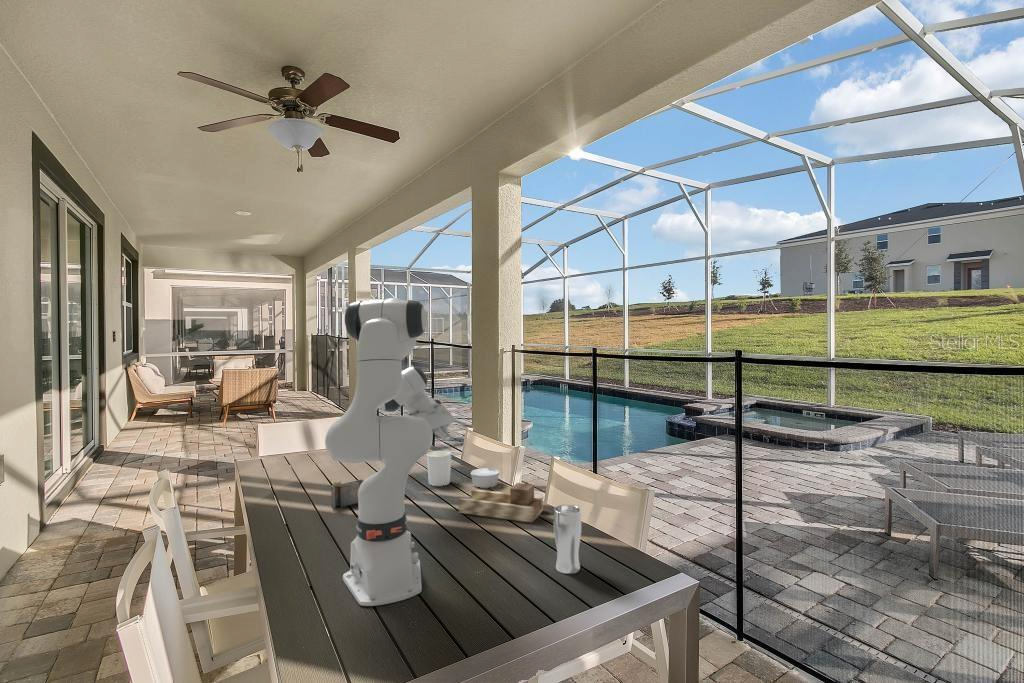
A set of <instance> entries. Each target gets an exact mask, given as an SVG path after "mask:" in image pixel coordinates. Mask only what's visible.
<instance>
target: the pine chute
mask: <svg viewBox="0 0 1024 683" xmlns="http://www.w3.org/2000/svg"><path fill="white" fill-rule="evenodd" d="M470 494H471V495H470V497H471V498H466V497H460V498H458V513H460V514H466V515H467V514H468V515H473V516H475V515H476V516H481V517H488V518H496V519H503V520H511V521H517V522H524V523H534V522H535V520H536V519H537V518H538V517H539V516H540V514H541V513H543V511H544V497H543V496H536V495H534V502H533V503H532V504H531V505H530V506H524V505H516V504H510V492H501V491H492V490H486V489H476V488H473V489H471V491H470Z"/></svg>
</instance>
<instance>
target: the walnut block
mask: <svg viewBox="0 0 1024 683" xmlns="http://www.w3.org/2000/svg"><path fill="white" fill-rule="evenodd" d="M509 493H510V504H516V505H524V506H530V505H531V504H532V503H533V502H534V496H535V484H531V483H524V482H516V483H515V484H514V485H513V486H511V487H510V488H509Z"/></svg>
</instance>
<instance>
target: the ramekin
mask: <svg viewBox="0 0 1024 683" xmlns="http://www.w3.org/2000/svg"><path fill="white" fill-rule="evenodd" d="M470 476H471V481H472V484H473V486H474V487H475V486H476V487H475V488H478V487H480V488H479V489H490V488H489V487H491V488H493V487H496V486H497V485H498V482H499V476H500V471H499V470H498V469H496V468H492V467H491V468H489V467H481V468H477V469H476V468H475V469H472V471H471V472H470Z"/></svg>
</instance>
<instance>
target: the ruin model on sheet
mask: <svg viewBox="0 0 1024 683" xmlns="http://www.w3.org/2000/svg"><path fill="white" fill-rule="evenodd" d="M364 480H365V479H357V480H353V481H348V482H345V483H341V482H342V481H341V480H340V481H336V482H334V483H332V485H331V486H330V491H331V493H330V494H331V507H332V508H333V509H336V507H337V506H340V508H342V507H343V508H344V507H347V506H351V505H355V504H358V490H359V487H360V485H361V484H362V482H363V481H364Z"/></svg>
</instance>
